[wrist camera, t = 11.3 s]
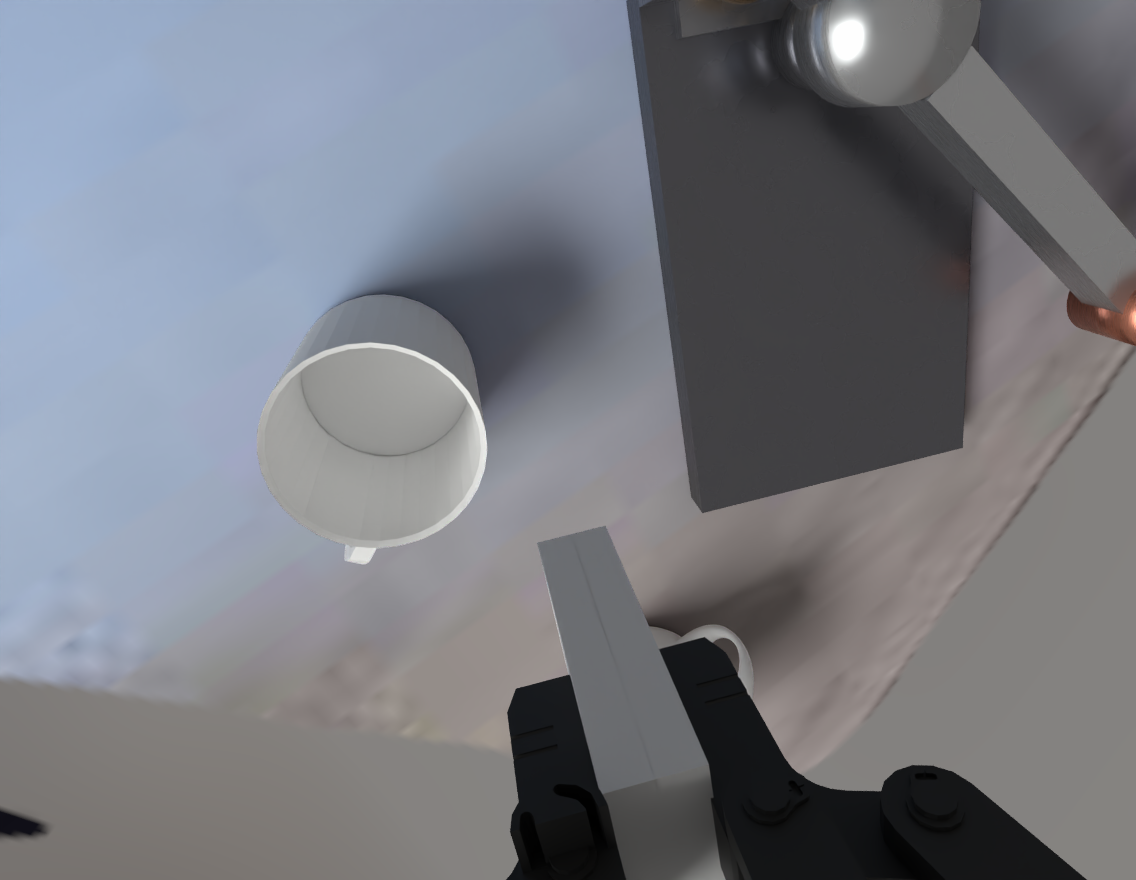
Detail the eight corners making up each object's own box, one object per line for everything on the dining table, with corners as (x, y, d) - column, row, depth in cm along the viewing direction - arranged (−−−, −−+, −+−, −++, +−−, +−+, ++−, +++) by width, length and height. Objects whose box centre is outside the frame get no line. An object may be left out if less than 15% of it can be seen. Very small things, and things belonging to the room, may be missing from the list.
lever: (685, -31, 29) (726, -56, 25) (788, -178, 28) (848, -228, 24) (1074, 361, 39) (1148, 388, 35) (1163, 267, 38) (1250, 284, 34)
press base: (610, -118, 32) (648, -169, 26) (958, -181, 33) (1063, -241, 28) (691, 497, 45) (728, 550, 39) (941, 434, 46) (1011, 477, 40)
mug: (331, 262, 36) (300, 305, 28) (502, 335, 39) (522, 393, 30) (254, 472, 40) (205, 567, 31) (416, 525, 42) (412, 626, 34)
